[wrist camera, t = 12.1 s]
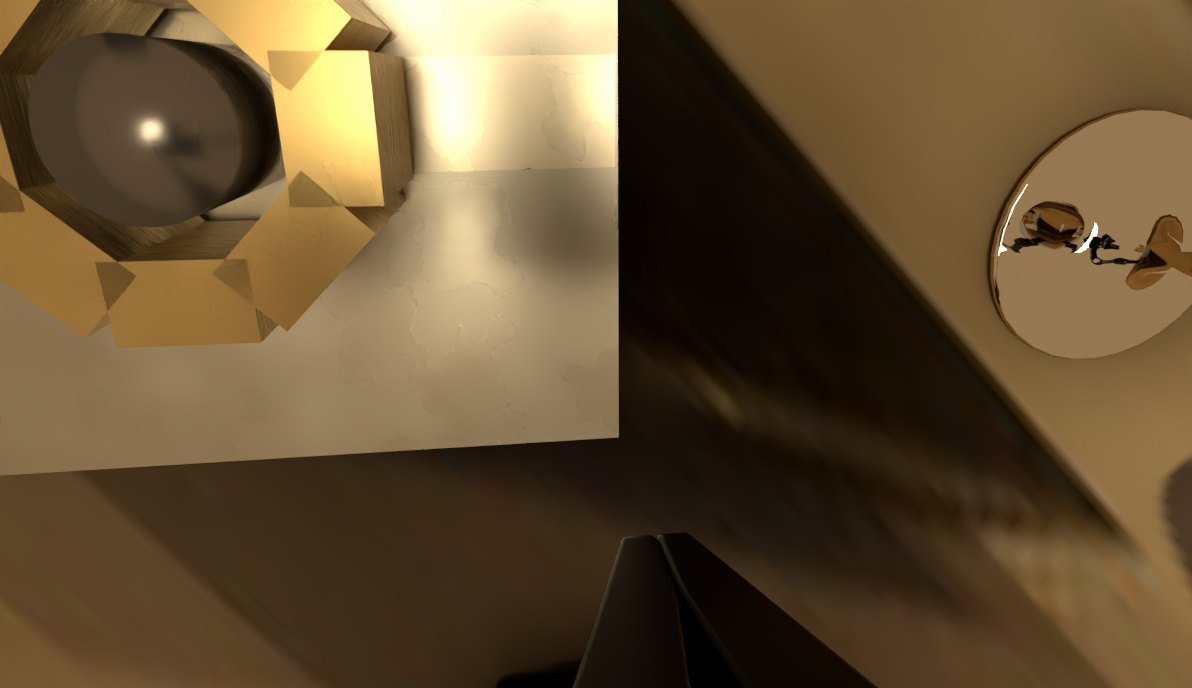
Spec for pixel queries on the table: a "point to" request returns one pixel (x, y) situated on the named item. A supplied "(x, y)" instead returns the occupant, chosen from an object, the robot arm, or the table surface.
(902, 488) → the table surface
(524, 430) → the post base
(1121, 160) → the wineglass
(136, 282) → the octagonal ring with handle
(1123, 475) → the table surface
